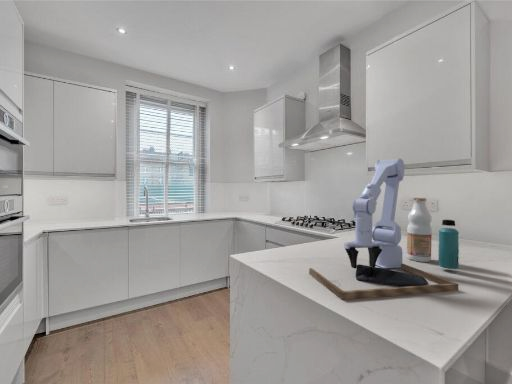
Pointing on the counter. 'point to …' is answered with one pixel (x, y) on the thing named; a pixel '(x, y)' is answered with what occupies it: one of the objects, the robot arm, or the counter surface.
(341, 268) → the counter surface
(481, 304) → the counter surface
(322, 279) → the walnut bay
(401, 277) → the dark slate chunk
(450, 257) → the beverage bottle
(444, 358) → the counter surface
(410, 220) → the fruit juice
